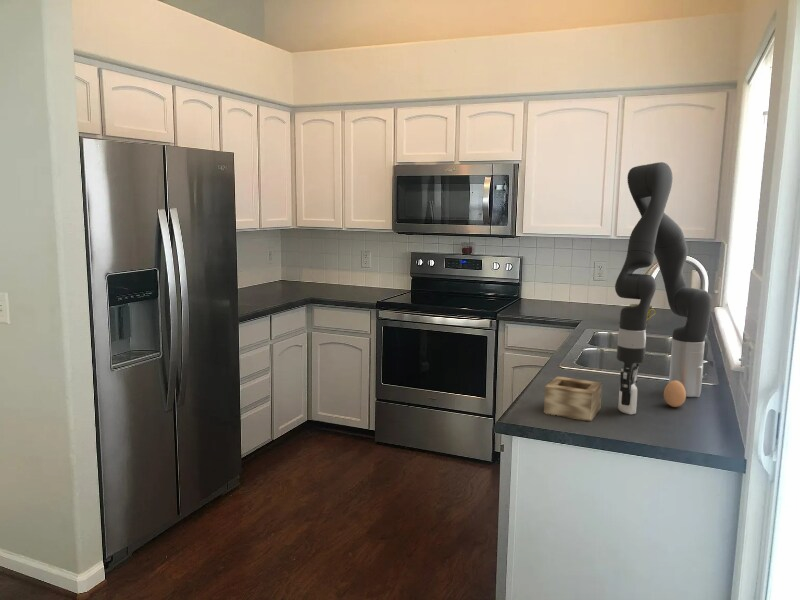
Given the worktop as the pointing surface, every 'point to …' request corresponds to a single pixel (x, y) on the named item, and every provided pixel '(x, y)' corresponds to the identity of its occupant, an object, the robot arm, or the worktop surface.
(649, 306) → the ceramic cup
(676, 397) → the egg
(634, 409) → the eye dropper bottle
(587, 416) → the box
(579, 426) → the worktop surface
